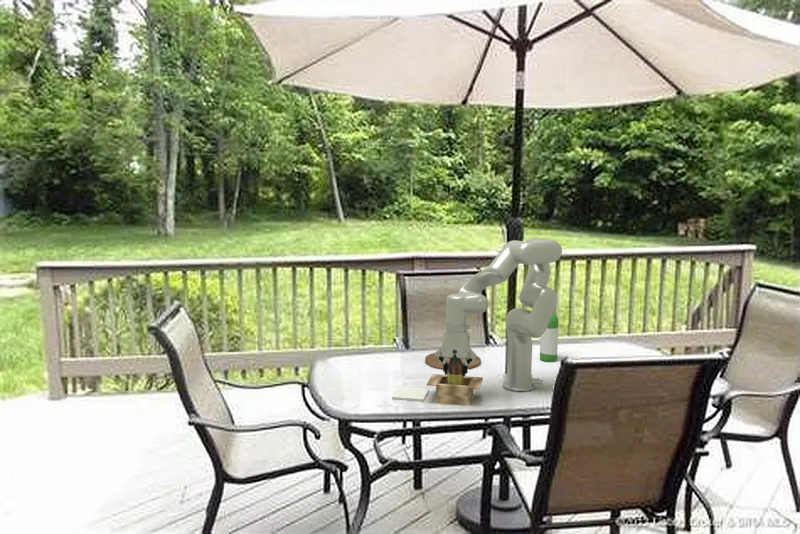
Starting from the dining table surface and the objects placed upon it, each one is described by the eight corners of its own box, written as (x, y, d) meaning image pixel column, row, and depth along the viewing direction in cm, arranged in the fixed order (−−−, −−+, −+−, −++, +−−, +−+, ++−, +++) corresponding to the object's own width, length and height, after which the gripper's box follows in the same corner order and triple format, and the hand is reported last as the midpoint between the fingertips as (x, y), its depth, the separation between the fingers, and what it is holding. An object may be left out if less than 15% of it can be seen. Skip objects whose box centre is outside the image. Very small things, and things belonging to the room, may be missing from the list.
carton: (482, 395, 246) (482, 377, 245) (479, 406, 234) (480, 388, 233) (432, 391, 250) (432, 373, 249) (426, 402, 238) (426, 384, 237)
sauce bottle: (453, 394, 246) (454, 344, 244) (466, 398, 243) (467, 347, 240) (443, 399, 241) (444, 347, 239) (456, 403, 238) (458, 350, 235)
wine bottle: (540, 356, 298) (542, 293, 293) (557, 358, 295) (560, 294, 291) (538, 361, 290) (540, 296, 286) (556, 363, 288) (558, 297, 284)
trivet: (437, 352, 305) (437, 348, 305) (488, 359, 295) (488, 355, 294) (415, 366, 283) (416, 362, 283) (469, 374, 272) (469, 370, 272)
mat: (428, 391, 250) (428, 388, 250) (423, 401, 239) (423, 399, 238) (398, 389, 253) (398, 386, 252) (391, 399, 241) (391, 396, 241)
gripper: (480, 326, 240) (479, 373, 242) (434, 324, 243) (434, 369, 246) (478, 331, 233) (477, 379, 235) (431, 328, 236) (430, 375, 239)
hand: (455, 374), depth 241 cm, fingers closed on sauce bottle, 6 cm apart
